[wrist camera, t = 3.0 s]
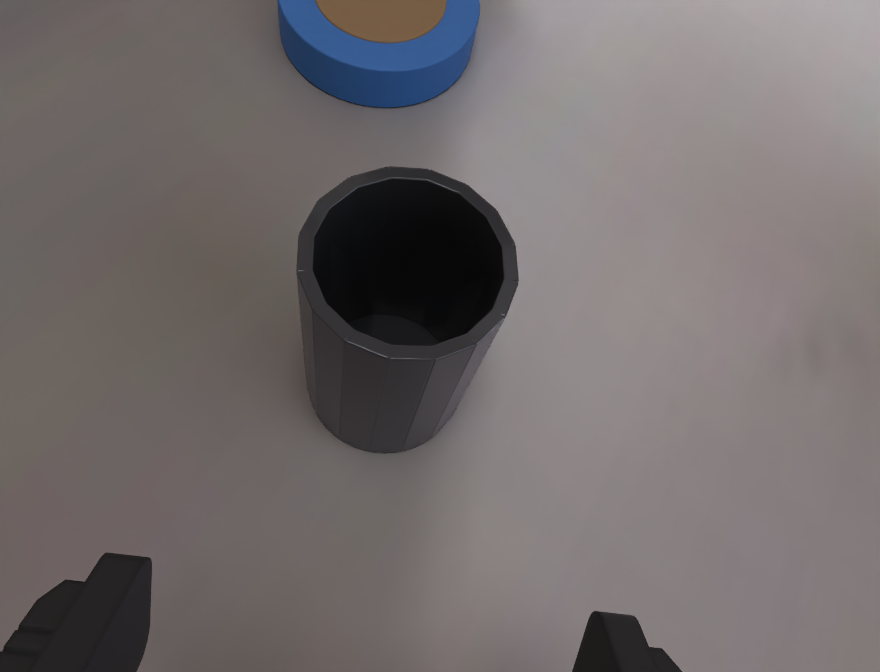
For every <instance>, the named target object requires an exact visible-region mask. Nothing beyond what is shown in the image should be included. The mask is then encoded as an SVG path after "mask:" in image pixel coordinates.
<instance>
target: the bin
mask: <svg viewBox="0 0 880 672" xmlns="http://www.w3.org/2000/svg"><path fill="white" fill-rule="evenodd" d="M518 281H519V278H518V267H517V255H516V246H515V243H514V241H513V239H512V237H511V235H510V233H509V231H508V230H507V228H506V226H505V224H504V222H503V220H502V218H501V217H500V215H499V213H498V211H497V210H496V209H495V208H494V207H493V206H492V205H490V204H489V203H488V202H487V201H486V200H485V199H483V198H482V197H481V196H480V195H479V194H478V193H476V192H475V191H474V190H473V189H472V188H471V187H470V186H468V185H466V184H465V183H462V182H460V181H457V180H455V179H452V178H450V177H447V176H445V175H442V174H440V173H438V172H435V171H433V170H429V169H421V168H406V167H391V166H390V167H384V168H380V169H377V170H373V171H369V172H366V173H362V174H358V175H355V176H351V177H350V178H347V179H346V180H345V181H343V182H342V183H341V184H339V185H338V186H336V187H335V188H334V189H332V190H331V191H330V192H328V193H327V194H326V195H324V196H323V197H322V198H320V199H319V200H318V201H317V202H316V204H315V206H314V208H313V210H312V211H311V213H310V215H309V217H308V218H307V220H306V222H305V224H304V225H303V227H302V229H301V231H300V234H299V238H298V255H297V282H298V294H299V306H300V317H301V329H302V340H303V352H304V363H305V375H306V386H307V390H308V393H309V397H310V400H311V403H312V406H313V408H314V410H315V412H316V414H317V416H318V417H319V419H320V420H321V422H322V423H323V424H324V425H325V427H326V428H327V429H328V430H329V431H330V432H331V433H333V434H334V435H335V436H336V437H337V438H339V439H340V440H342V441H343V442H345V443H347V444H349V445H351V446H353V447H356V448H358V449H361V450H365V451H370V452H375V453H395V452H401V451H406V450H409V449H412V448H415V447H417V446H419V445H421V444H423V443H425V442H426V441H428V440H429V439H431V438H432V437H433V436H435V435H436V434H437V433H438V432H439V431H440V430H441V429H442V428H443V427H444V426H445V424H446V423H447V422H448V421H449V420H450V419H451V417H452V416H453V414H454V412H455V410H456V408H457V406H458V405H459V403H460V401H461V399H462V397H463V395H464V393H465V392H466V390H467V388H468V386H469V384H470V382H471V380H472V379H473V377H474V375H475V373H476V371H477V369H478V367H479V366H480V364H481V362H482V360H483V358H484V356H485V354H486V353H487V351H488V349H489V347H490V345H491V343H492V341H493V340H494V338H495V336H496V334H497V332H498V330H499V328H500V327H501V325H502V323H503V321H504V319H505V317H506V315H507V312H508V310H509V307H510V304H511V302H512V299H513V297H514V294H515V291H516V289H517V286H518Z"/></svg>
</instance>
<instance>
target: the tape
mask: <svg viewBox="0 0 880 672" xmlns="http://www.w3.org/2000/svg"><path fill="white" fill-rule="evenodd" d="M278 12H279V24H280V34H281V40H282V43H283V46H284V49H285V52H286V53H287V55H288V57H289V59H290V61H291V62H292V63H293V65H294V66H295V67H296V69H297V70H298V71H299V72H300V73H301V74H302V75H303V76H304V77H305V78H306V79H307V80H309V81H310V82H311V83H312V84H314V85H315V86H316V87H318V88H320V89H321V90H323V91H325V92H326V93H328V94H331V95H333V96H335V97H337V98H339V99H342V100H345V101H348V102H351V103H356V104H360V105H364V106H372V107H402V106H408V105H413V104H417V103H420V102H424V101H427V100H429V99H431V98H433V97H435V96H437V95H439V94H441V93H442V92H444V91H445V90H447V89H448V88H449V87H450V86H451V85H453V84H454V83H455V82H456V80H457V79H458V78H459V77H460V76H461V74H462V73H463V71H464V70H465V68H466V66H467V63H468V61H469V58H470V54H471V49H472V45H473V41H474V37H475V33H476V28H477V24H478V19H479V14H480V3H479V0H278Z"/></svg>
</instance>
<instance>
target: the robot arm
mask: <svg viewBox="0 0 880 672" xmlns="http://www.w3.org/2000/svg"><path fill="white" fill-rule="evenodd" d="M151 579H152V562H151V559H150V558H149V557H141V556H132V555H124V554H115V553H105V554H104V555H103V556H102V557H101V558H100V559H99V561H98V562H97V564H96V566H95V567H94V569H93V570H92V572H91V573H90V575H89V576H88V578H87V579H86V581H85V582H82V581H73V580H64V581H63V582H61V583H60V584H59V585H57V586H56V587H54V588H53V589H52V590H50V591H49V592H47V593H46V594H45V595H43V596H42V597H41V598H39V599H38V600H37V601H36V602H35V604H34V605H33V606H32V608H31V609H30V611H29V612H28V613H27V615H26V616H25V618H24V619H23V620H22V622H21V623H20V625H19V628H18V630H15V632H14V633H13V634H12V636H11V637H10V639H9V640H8V641H7V643H6V644H5V646H4V649H3V651H2V652H0V672H136V671H137V669H138V667H139V665H140V662H141V660H142V657H143V654H144V651H145V648H146V644H147V640H148V635H149V628H150V607H151ZM572 672H682V671H681V670H680V669H679V667H678V666H677V665H676V664H675V663H674V662H673V661H672V659H671V658H670V657H669V656H668V655H667V654H666V653H665V651H664V650H663V649H662V648H653V647H649V646H648V644H647V641H646V639H645V636H644V634H643V631H642V629H641V626H640V624H639V622H638V620H637V619H636V617H635V616H632V615H625V614H616V613H608V612H599V611H594V612H592V614H591V615H590V617H589V620H588V623H587V626H586V629H585V632H584V636H583V639H582V642H581V645H580V648H579V652H578V655H577V658H576V661H575V664H574V668H573V671H572Z"/></svg>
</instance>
